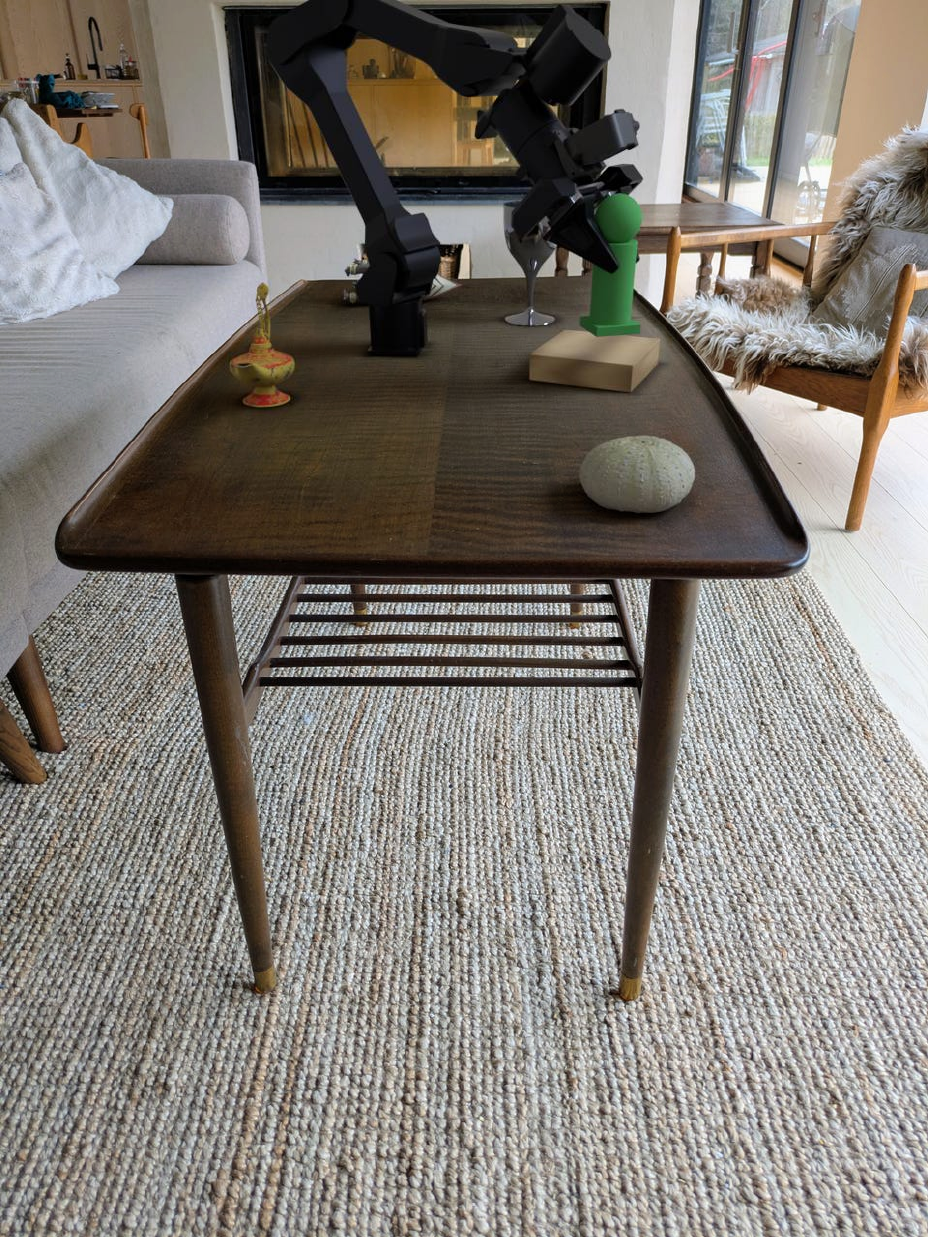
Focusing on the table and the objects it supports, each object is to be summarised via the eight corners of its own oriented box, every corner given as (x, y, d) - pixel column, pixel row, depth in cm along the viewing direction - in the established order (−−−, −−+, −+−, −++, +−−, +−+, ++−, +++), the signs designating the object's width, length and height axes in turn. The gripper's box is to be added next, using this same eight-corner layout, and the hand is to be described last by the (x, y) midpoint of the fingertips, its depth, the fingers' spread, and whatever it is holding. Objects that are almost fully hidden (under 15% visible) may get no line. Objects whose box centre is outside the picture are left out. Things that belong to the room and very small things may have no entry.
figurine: (368, 250, 147) (470, 254, 144) (369, 290, 150) (469, 294, 147) (328, 265, 129) (442, 270, 126) (330, 309, 132) (442, 315, 129)
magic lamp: (216, 434, 89) (197, 320, 84) (246, 380, 105) (232, 281, 99) (285, 433, 89) (272, 319, 84) (305, 379, 105) (295, 279, 99)
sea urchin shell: (560, 457, 78) (630, 390, 75) (618, 513, 81) (687, 451, 79) (581, 500, 70) (660, 427, 67) (644, 561, 73) (722, 493, 71)
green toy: (596, 336, 95) (606, 197, 88) (579, 325, 99) (587, 191, 92) (640, 333, 96) (653, 195, 89) (621, 322, 100) (632, 189, 93)
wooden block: (529, 380, 104) (529, 353, 102) (563, 353, 113) (564, 329, 111) (630, 392, 99) (633, 365, 98) (658, 363, 109) (660, 338, 107)
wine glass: (567, 316, 129) (573, 202, 121) (541, 328, 123) (545, 209, 116) (519, 310, 133) (521, 198, 125) (491, 321, 127) (492, 205, 119)
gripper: (542, 80, 81) (643, 224, 81) (634, 76, 94) (720, 200, 94) (470, 172, 89) (562, 303, 89) (563, 157, 102) (643, 271, 102)
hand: (626, 266), depth 93 cm, fingers closed on green toy, 4 cm apart
